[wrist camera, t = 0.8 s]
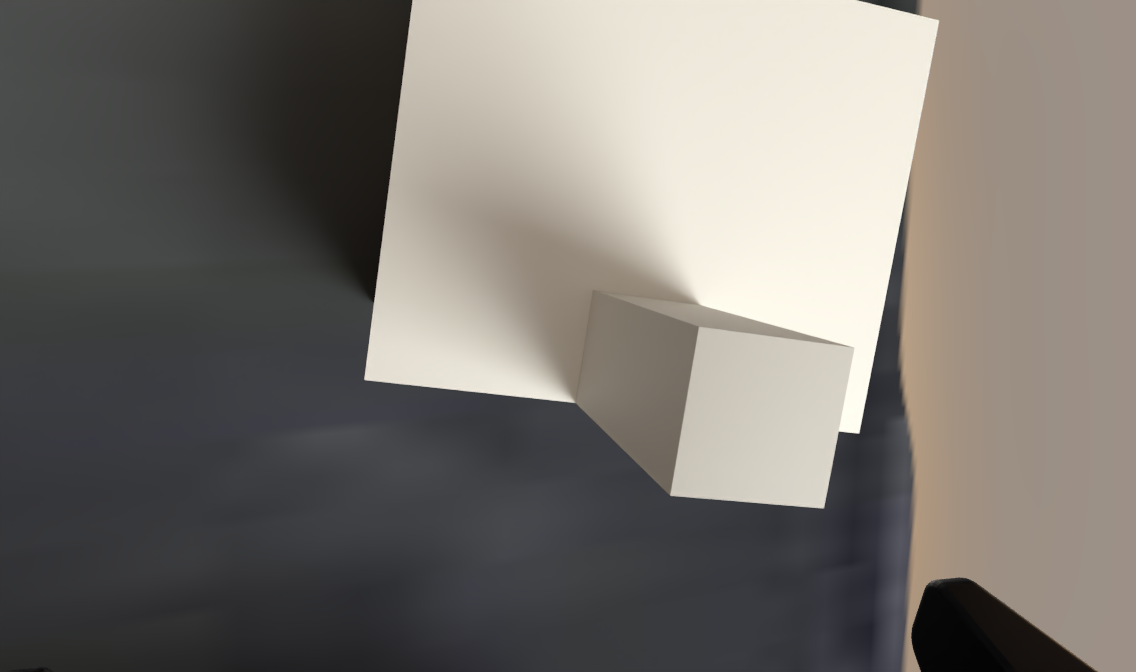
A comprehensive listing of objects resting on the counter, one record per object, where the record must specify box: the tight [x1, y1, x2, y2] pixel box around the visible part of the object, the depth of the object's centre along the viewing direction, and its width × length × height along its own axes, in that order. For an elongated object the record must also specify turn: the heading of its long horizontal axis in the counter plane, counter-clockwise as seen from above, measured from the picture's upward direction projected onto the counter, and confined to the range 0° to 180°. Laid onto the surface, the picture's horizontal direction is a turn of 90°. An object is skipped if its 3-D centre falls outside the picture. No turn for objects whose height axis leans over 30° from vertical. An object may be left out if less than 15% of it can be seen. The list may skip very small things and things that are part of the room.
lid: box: [364, 0, 939, 508], centre depth 16 cm, size 10×12×7 cm
